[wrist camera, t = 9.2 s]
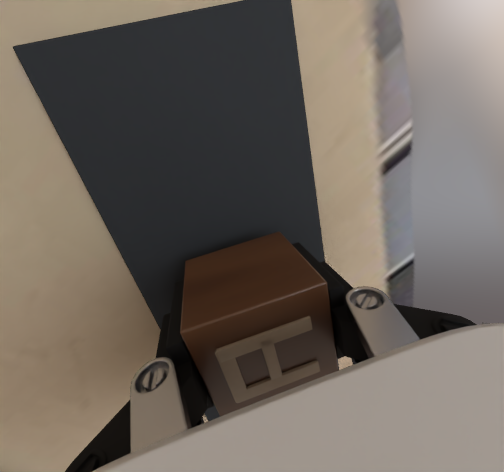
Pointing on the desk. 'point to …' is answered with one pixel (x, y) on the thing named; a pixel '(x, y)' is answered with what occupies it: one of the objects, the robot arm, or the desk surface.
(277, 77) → the mat
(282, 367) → the tile
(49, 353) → the desk surface
